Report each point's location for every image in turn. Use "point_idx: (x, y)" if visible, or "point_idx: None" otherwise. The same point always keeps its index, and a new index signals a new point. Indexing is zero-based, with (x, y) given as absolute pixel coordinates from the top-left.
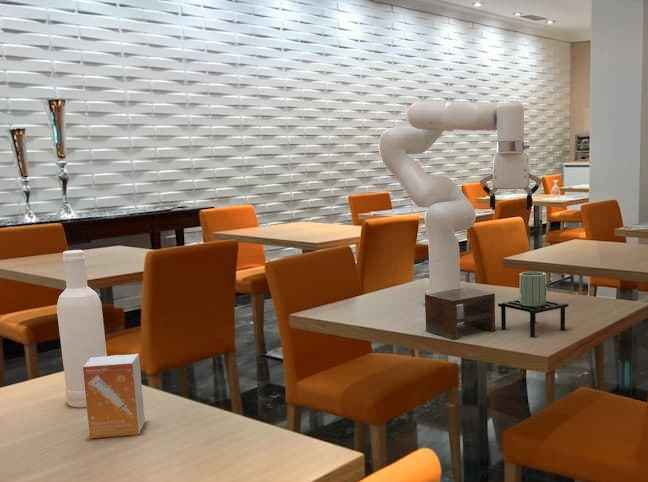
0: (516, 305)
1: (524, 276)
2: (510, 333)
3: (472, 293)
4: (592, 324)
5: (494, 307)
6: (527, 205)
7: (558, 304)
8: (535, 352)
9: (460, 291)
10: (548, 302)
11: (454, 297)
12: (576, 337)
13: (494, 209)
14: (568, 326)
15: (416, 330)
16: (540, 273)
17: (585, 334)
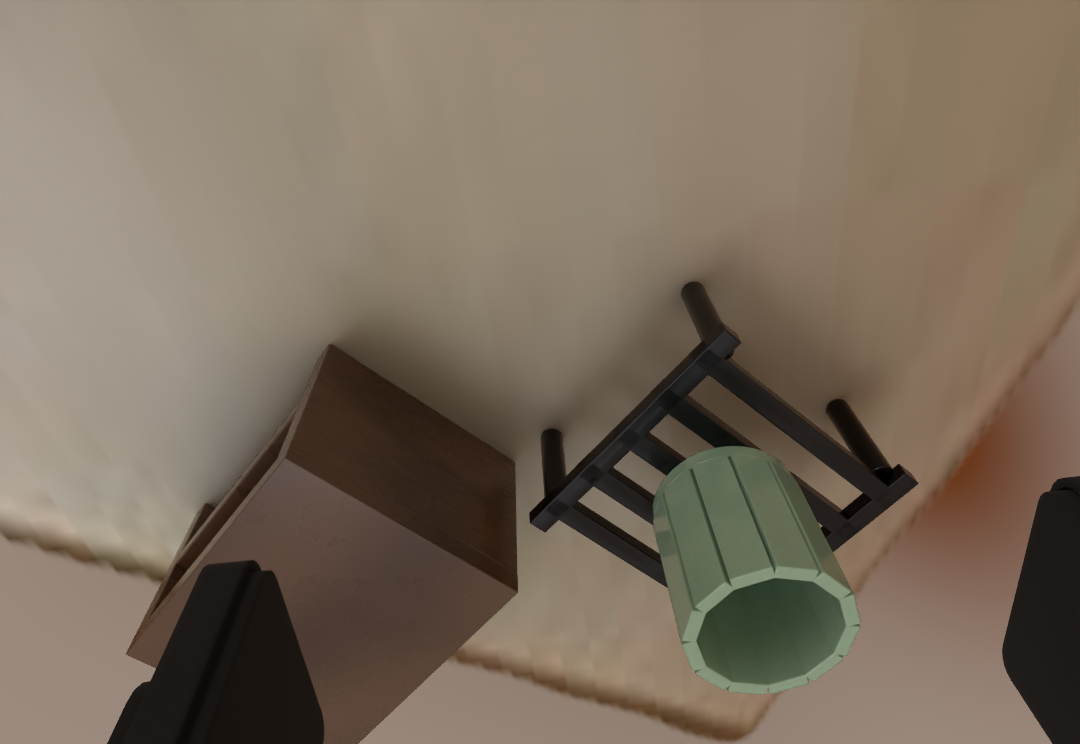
0: (636, 552)
1: (714, 680)
2: (593, 496)
3: (389, 607)
4: (1007, 283)
5: (515, 540)
6: (1066, 741)
7: (863, 491)
8: (710, 698)
9: (298, 569)
10: (812, 453)
11: (325, 697)
12: (882, 515)
13: (315, 732)
14: (873, 340)
15: (143, 507)
16: (823, 586)
17: (930, 467)
